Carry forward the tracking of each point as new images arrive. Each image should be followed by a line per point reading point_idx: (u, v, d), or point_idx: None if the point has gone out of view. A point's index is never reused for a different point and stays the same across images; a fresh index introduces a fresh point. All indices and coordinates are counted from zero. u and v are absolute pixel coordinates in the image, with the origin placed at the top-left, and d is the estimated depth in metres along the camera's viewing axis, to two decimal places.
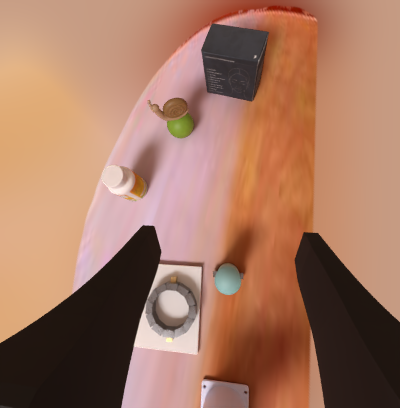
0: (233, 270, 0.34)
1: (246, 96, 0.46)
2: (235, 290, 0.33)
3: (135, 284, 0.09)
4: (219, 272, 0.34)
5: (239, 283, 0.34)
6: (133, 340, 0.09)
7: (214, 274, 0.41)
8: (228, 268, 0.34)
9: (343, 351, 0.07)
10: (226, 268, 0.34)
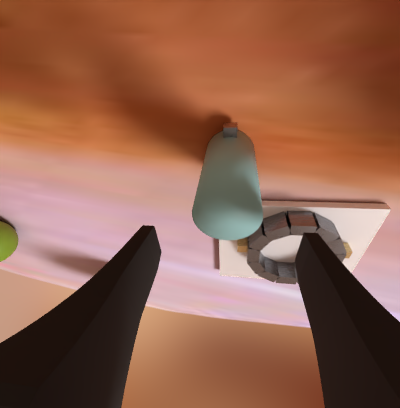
0: (198, 204, 0.12)
1: None
2: (251, 200, 0.12)
3: (135, 284, 0.09)
4: (207, 231, 0.14)
5: (231, 191, 0.11)
6: (133, 340, 0.09)
7: None
8: (194, 214, 0.13)
9: (343, 351, 0.07)
10: (195, 218, 0.13)
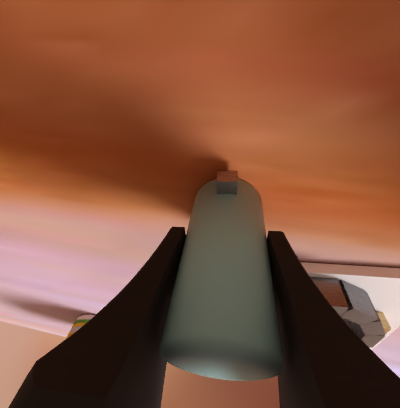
0: (168, 345, 0.07)
1: None
2: (264, 353, 0.06)
3: (170, 287, 0.09)
4: (188, 369, 0.08)
5: (227, 341, 0.06)
6: None
7: None
8: (164, 353, 0.07)
9: (289, 345, 0.07)
10: (166, 356, 0.08)
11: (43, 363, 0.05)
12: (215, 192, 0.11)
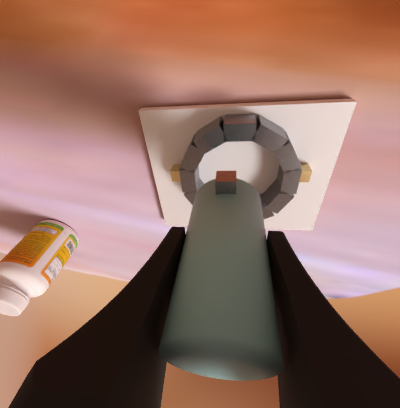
0: (167, 345, 0.07)
1: None
2: (263, 353, 0.06)
3: (170, 287, 0.09)
4: (188, 369, 0.08)
5: (226, 341, 0.06)
6: None
7: None
8: (163, 353, 0.07)
9: (289, 345, 0.07)
10: (166, 356, 0.08)
11: (43, 363, 0.05)
12: (214, 192, 0.11)
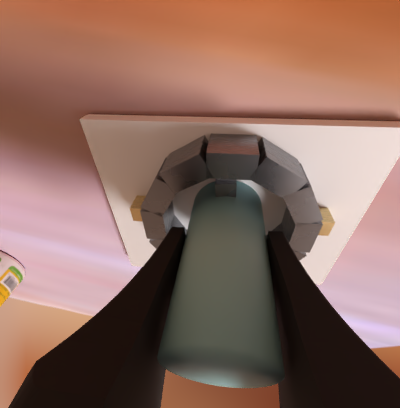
0: (165, 353, 0.07)
1: None
2: (264, 362, 0.06)
3: (170, 287, 0.09)
4: (187, 376, 0.08)
5: (225, 350, 0.06)
6: None
7: None
8: (162, 361, 0.07)
9: (289, 345, 0.07)
10: (164, 364, 0.07)
11: (43, 363, 0.05)
12: (214, 195, 0.11)
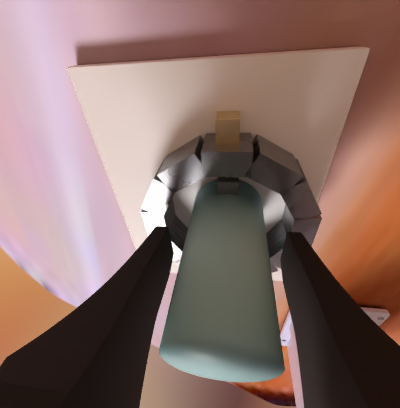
0: (168, 346, 0.07)
1: None
2: (265, 355, 0.06)
3: (151, 285, 0.09)
4: (187, 370, 0.08)
5: (228, 343, 0.06)
6: (149, 342, 0.09)
7: None
8: (164, 354, 0.07)
9: (318, 348, 0.07)
10: (165, 357, 0.08)
11: (13, 358, 0.05)
12: (216, 192, 0.11)
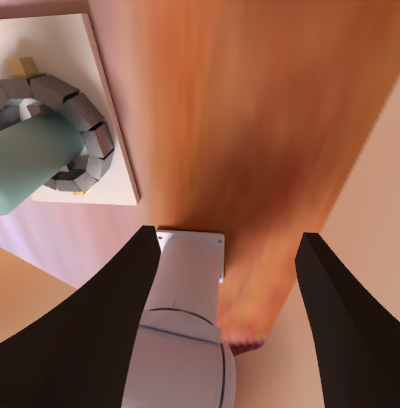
0: None
1: None
2: None
3: (135, 284, 0.09)
4: None
5: None
6: (133, 340, 0.09)
7: (63, 169, 0.19)
8: None
9: (343, 351, 0.07)
10: None
11: None
12: None
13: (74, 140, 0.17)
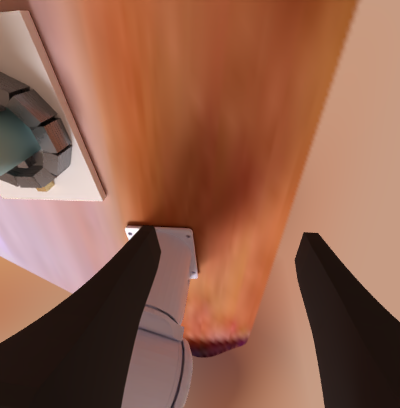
0: None
1: None
2: None
3: (135, 284, 0.09)
4: None
5: None
6: (133, 340, 0.09)
7: (23, 165, 0.19)
8: None
9: (343, 351, 0.07)
10: None
11: None
12: None
13: (29, 136, 0.18)
